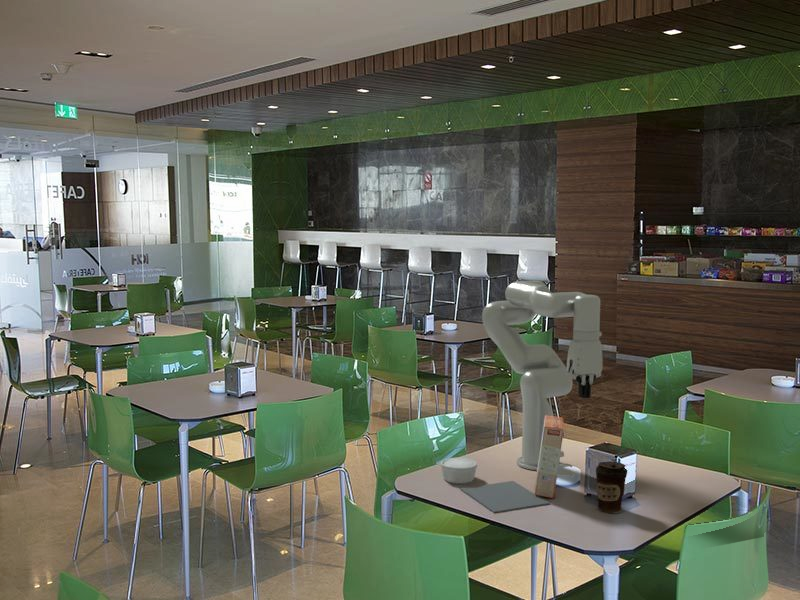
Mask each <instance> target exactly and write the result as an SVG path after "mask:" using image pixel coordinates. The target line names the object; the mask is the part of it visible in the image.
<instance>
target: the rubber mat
mask: <svg viewBox="0 0 800 600" xmlns="http://www.w3.org/2000/svg"><path fill="white" fill-rule="evenodd" d="M459 490H460V491H462V492H463V493H464V492H465V493H464V494H466V495H467V496H469V497H470V498H472V499H473V500H475V502H477V503H479V504H480V505H481V506H483V507H485V508H486V509H487V510H489V511H490V512H492V513H493V514H496V513H497V514H498V513H503V511H504V512H509V511H514V510H522V509H529V508H534V507H535V508H536V507H540V506H546V505H547V504H548V505H551V504H550V503H551V502H549V501H547V500H546V499H544V498H543V497H542V496H537V495H535V492H532V491H531V490H529V489H528V488H526V487H524V486H523V485H521V484H519V483H518V482H516V481H514V480H511V481H504V482H496V483H489V484H488V483H487V484H481V485H475V486H467V487H460V489H459Z"/></svg>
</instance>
